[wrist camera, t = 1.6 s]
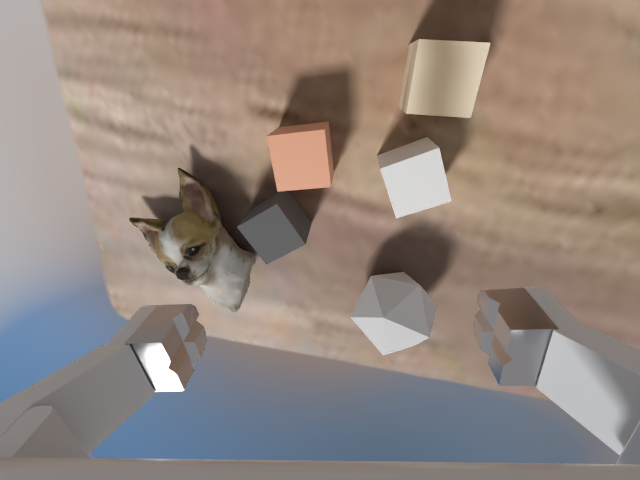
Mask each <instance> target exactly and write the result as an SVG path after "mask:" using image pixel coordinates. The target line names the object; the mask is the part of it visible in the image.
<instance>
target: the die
mask: <svg viewBox="0 0 640 480" xmlns="http://www.w3.org/2000/svg"><path fill="white" fill-rule="evenodd" d="M436 308H437V304H436V303H435V302H434V301H433V300H432V299H431V297H430V296H429V295H428V294H427V293H426V292H425V290H424V289H423V288H422V287H421V286H420V285H419V284H418V283H417V282H416V281H414V280H413V279H412V278H411V277H409V276H408V275H407V274H406V273H404V272H398V273H390V274H382V275H374V276H371V277H370V279H369V281H368V283H367V285H366V287H365V289H364V291H363V293H362V295H361V297H360V299H359V301H358V303H357V305H356V307H355V309H354V311H353V313H352V315H351V318H352V320H353V321H354V322H355V323H356V324H357V325H358V327H359V328H360V329H361V330H362V331H363V332H364V334H365V335H366V336H367V337H368V338H369V339H370V341H371V342H372V343H373V344H374V345H375V346H376V347H377V349H378V350H379V351H380V352H381V353H382V354H383V355H386V354H390V353H393V352H396V351H399V350H402V349H405V348H408V347H411V346H414V345H417V344H419V343H420V342H422V341H424V340H426V339H427V338H429V337H430V332H431V328H432V324H433V320H434V316H435V312H436Z"/></svg>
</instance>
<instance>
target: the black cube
mask: <svg viewBox="0 0 640 480" xmlns="http://www.w3.org/2000/svg"><path fill="white" fill-rule="evenodd" d="M310 227H311V222H310V221H309V219H308V218H307V216H306V215H305V213H304V212H303V210H302V209H301V207H300V206H299V204H298V203H297V201H296V200H295V198H294V197H293V196H292V194H291V193H290V191H280V192H278V193H276V194H274V195H273V196H271V197H269V198H268V199H266V200H264V201H262V202H261V203H259V204H257V205H256V206H254V207H252V208H251V209H250V210H249V212H248V213H247V214H246V216H245V217H244V218H243V220H242V221H241V222H240V224H239V225H238V226H237V228H238V229H239V231H240V232H241V233H242V234H243V236H244V237H245V238H246V239H247V241H248V242H249V243H250V244H251V246H252V247H253V248H254V249H255V251H256V252H257V253H258V255H259V256H260V257H261V258H262V260H263V261H264V262H265V263H266V264H268V263H270V262H272V261H274V260H276V259H278V258H280V257H282V256H284V255H286V254H288V253H290V252H291V251H293V250H295V249H297V248H299V247H301V246H303V245H305V244H306V241H307V237H308V234H309V230H310Z"/></svg>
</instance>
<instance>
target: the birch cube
mask: <svg viewBox="0 0 640 480" xmlns="http://www.w3.org/2000/svg"><path fill="white" fill-rule="evenodd" d="M489 47H490V43H487V42H467V41H447V40H427V39H418V40H416V41H414V42H413V43H411V44H409V46H408V52H407V58H406V65H405V71H404V77H403V83H402V90H401V96H400V102H399V108H400V109H401V110H402V111H403V112H405V113H406V114H417V115H433V116H448V117H463V118H471V115H472V111H473V108H474V104H475V100H476V96H477V92H478V89H479V85H480V81H481V77H482V73H483V70H484V66H485V62H486V58H487V55H488V51H489Z"/></svg>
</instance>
